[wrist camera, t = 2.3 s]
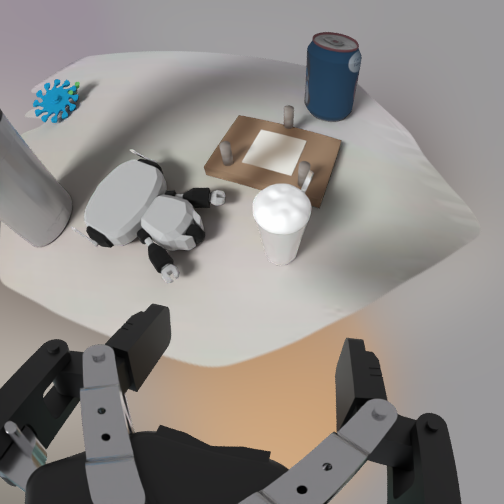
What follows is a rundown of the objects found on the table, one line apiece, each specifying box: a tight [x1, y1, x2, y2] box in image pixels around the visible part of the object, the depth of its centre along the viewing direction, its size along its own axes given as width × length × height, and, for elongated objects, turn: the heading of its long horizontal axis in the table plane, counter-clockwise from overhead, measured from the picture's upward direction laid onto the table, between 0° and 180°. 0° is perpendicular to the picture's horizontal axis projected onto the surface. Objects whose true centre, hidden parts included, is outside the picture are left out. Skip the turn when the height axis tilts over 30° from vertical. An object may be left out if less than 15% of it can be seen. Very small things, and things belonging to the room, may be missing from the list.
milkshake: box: [253, 170, 314, 266], centre depth 26 cm, size 5×5×10 cm
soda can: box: [305, 32, 361, 122], centre depth 34 cm, size 7×7×12 cm
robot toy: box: [71, 149, 225, 283], centre depth 31 cm, size 12×4×15 cm
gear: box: [33, 79, 80, 123], centre depth 45 cm, size 11×6×10 cm
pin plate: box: [204, 105, 341, 208], centre depth 33 cm, size 14×11×4 cm
